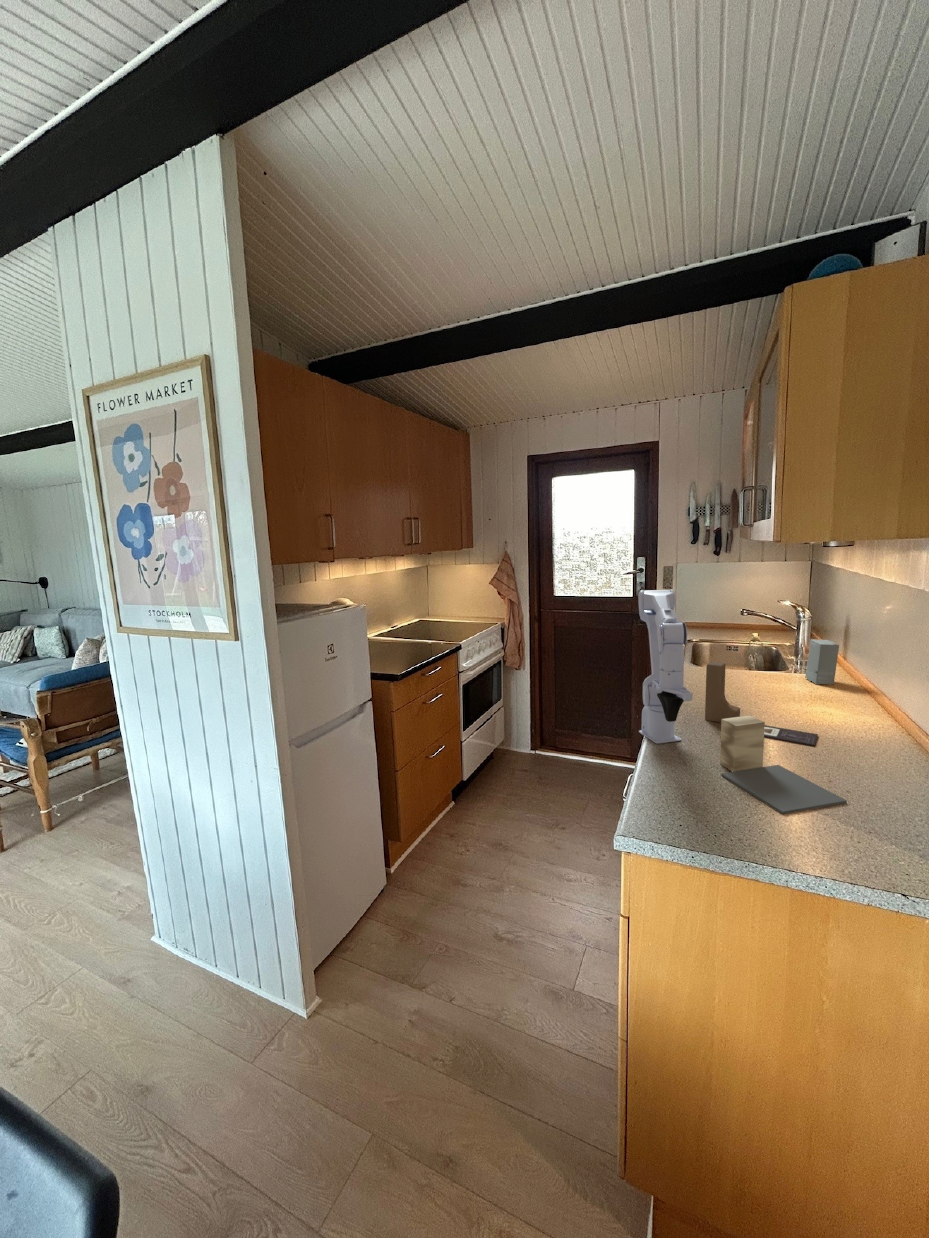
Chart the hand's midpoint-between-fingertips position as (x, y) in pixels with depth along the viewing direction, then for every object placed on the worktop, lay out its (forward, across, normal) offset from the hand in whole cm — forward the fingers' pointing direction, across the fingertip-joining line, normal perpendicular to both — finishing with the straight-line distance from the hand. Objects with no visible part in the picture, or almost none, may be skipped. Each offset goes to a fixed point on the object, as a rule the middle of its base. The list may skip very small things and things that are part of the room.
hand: (670, 720), depth 130 cm
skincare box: (+8, -44, +91) cm, 102 cm away
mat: (+11, +20, +14) cm, 27 cm away
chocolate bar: (+10, -6, +38) cm, 40 cm away
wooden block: (+10, -20, +31) cm, 38 cm away
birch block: (+10, +8, +14) cm, 19 cm away
